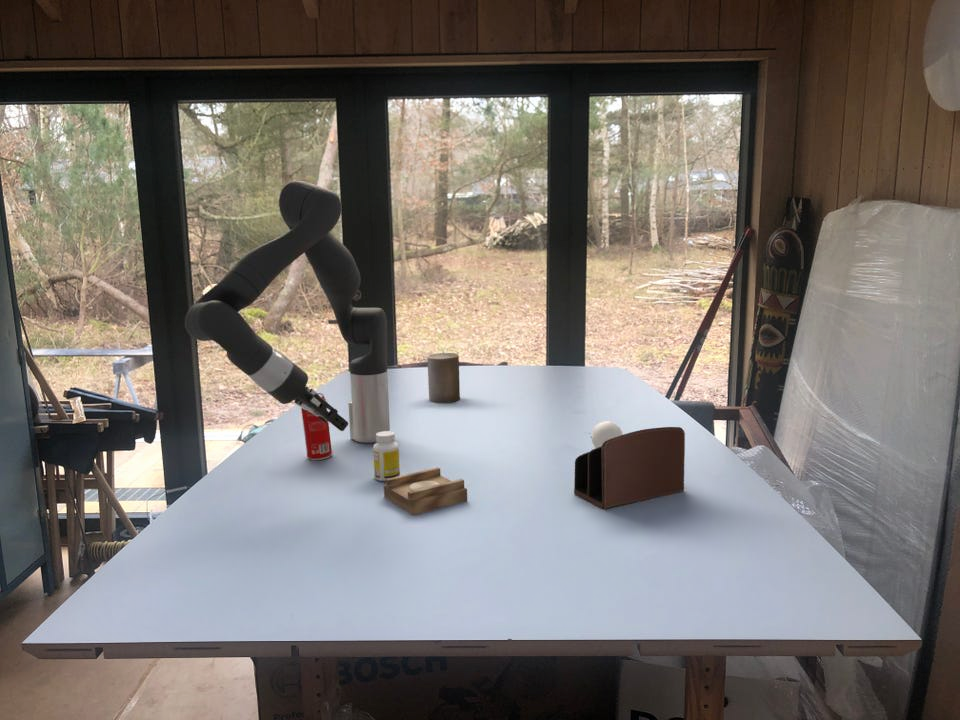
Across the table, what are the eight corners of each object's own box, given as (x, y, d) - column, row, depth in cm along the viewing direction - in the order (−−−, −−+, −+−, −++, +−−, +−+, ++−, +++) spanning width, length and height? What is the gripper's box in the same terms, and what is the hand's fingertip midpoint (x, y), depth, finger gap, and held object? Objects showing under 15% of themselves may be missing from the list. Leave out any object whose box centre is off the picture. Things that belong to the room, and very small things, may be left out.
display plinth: (413, 515, 142) (412, 495, 141) (384, 496, 151) (383, 477, 151) (467, 501, 148) (466, 481, 147) (435, 484, 158) (435, 465, 157)
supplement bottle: (404, 474, 165) (402, 431, 163) (393, 482, 160) (391, 438, 158) (381, 472, 166) (379, 429, 165) (370, 480, 161) (367, 436, 160)
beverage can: (336, 454, 180) (333, 392, 177) (320, 462, 174) (316, 399, 171) (316, 452, 182) (312, 391, 180) (299, 459, 177) (294, 397, 174)
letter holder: (684, 492, 151) (686, 423, 148) (603, 511, 142) (604, 438, 139) (652, 477, 160) (653, 412, 157) (573, 494, 151) (573, 426, 148)
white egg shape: (629, 451, 177) (629, 420, 176) (611, 459, 172) (611, 427, 170) (593, 443, 184) (593, 414, 183) (575, 450, 179) (575, 420, 177)
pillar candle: (466, 397, 234) (465, 349, 232) (448, 404, 226) (446, 355, 224) (440, 394, 240) (439, 347, 237) (422, 401, 231) (420, 352, 229)
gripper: (303, 365, 141) (363, 415, 150) (277, 355, 153) (333, 401, 161) (277, 397, 139) (339, 445, 148) (253, 384, 151) (311, 430, 159)
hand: (336, 422), depth 154 cm, fingers open, 8 cm apart
